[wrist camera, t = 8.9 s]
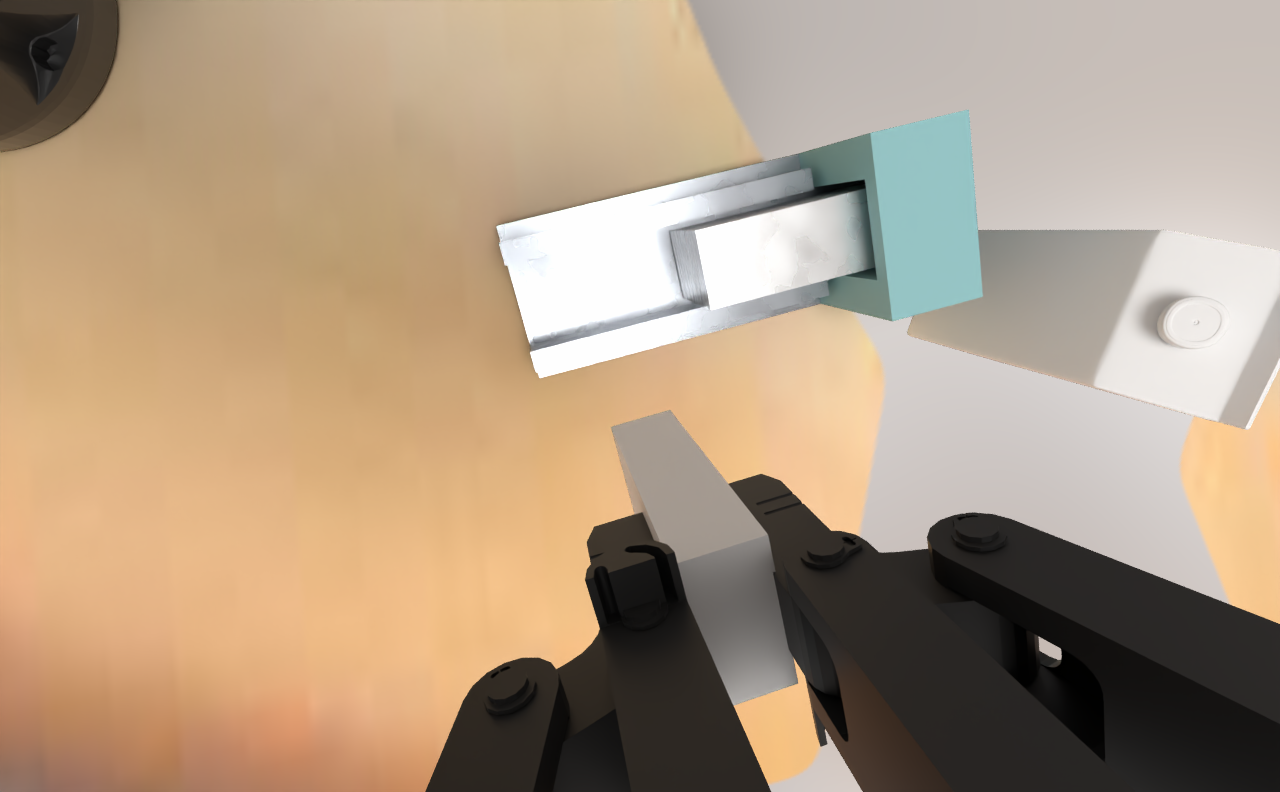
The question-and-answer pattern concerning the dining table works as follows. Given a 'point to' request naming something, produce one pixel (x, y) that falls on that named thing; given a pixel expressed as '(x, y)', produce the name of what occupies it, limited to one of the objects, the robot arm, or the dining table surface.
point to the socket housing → (909, 216)
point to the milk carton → (1126, 315)
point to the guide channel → (637, 266)
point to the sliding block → (775, 248)
